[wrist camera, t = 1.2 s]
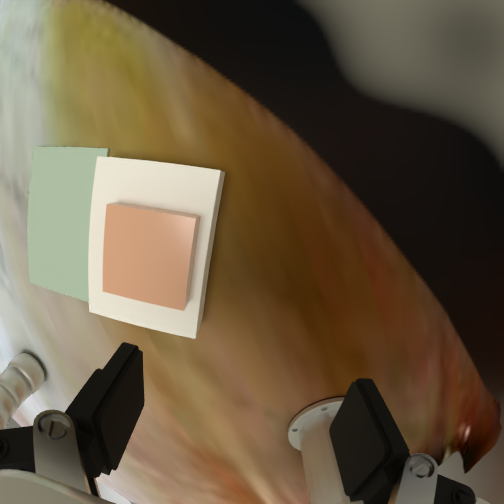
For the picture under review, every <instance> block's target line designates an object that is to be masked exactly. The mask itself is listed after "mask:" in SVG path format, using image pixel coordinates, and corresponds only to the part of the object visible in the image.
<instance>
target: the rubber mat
mask: <svg viewBox="0 0 504 504" xmlns="http://www.w3.org/2000/svg"><path fill="white" fill-rule="evenodd" d="M109 150H110V149H106V148H86V147H34V152H33V158H32V166H31V175H30V185H29V198H28V225H27V239H28V266H29V279H30V283H33V284H36V285H38V286H41V287H44V288H47V289H50V290H53V291H56V292H59V293H62V294H65V295H68V296H71V297H74V298H77V299H80V300H83V301H87V302H89V288H88V250H89V227H90V213H91V201H92V192H93V183H94V175H95V168H96V161H97V156H100V157H108V156H109Z"/></svg>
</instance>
